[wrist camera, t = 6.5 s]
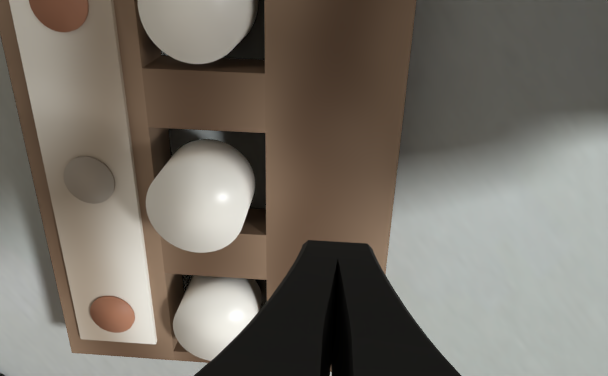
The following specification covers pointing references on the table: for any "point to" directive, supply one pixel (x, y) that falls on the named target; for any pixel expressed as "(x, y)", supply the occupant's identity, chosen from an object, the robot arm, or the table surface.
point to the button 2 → (215, 313)
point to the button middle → (201, 196)
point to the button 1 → (197, 26)
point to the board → (200, 116)
